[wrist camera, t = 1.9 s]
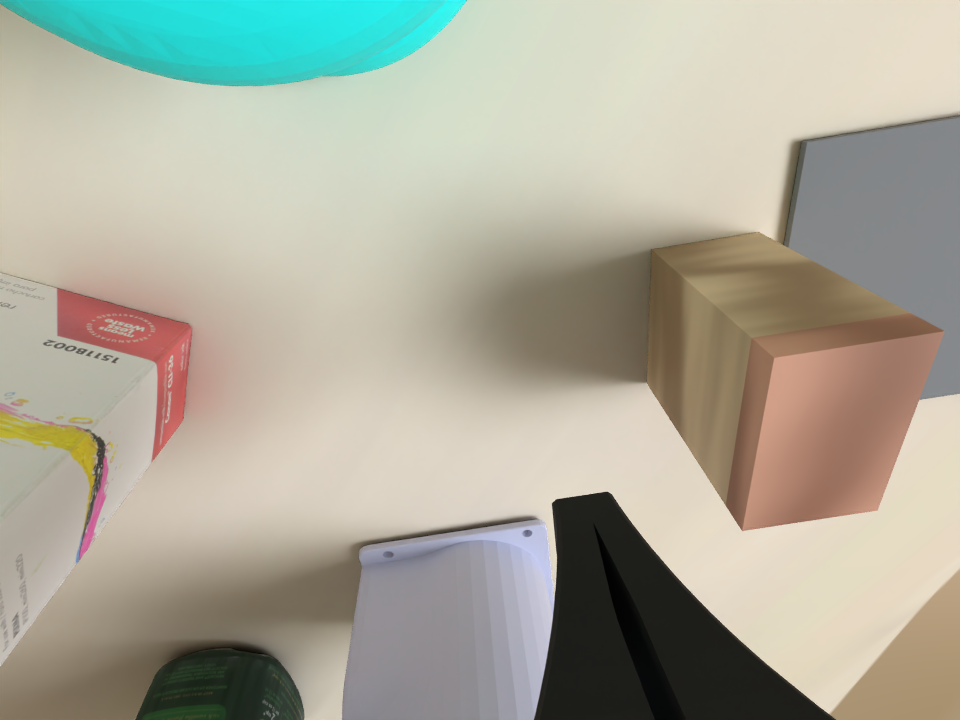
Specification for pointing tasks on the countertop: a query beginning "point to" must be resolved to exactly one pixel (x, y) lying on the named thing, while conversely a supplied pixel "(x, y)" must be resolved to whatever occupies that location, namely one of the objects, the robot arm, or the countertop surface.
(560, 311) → the countertop surface
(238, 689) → the coffee jar
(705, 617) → the robot arm
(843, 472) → the oak block
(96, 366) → the ink cartridge box
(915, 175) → the rubber mat
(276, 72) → the donuts
